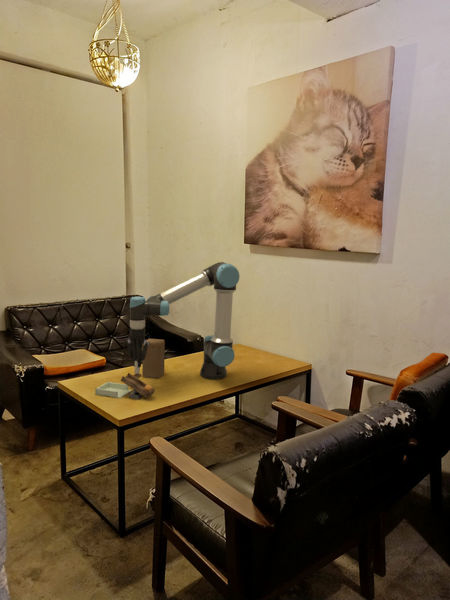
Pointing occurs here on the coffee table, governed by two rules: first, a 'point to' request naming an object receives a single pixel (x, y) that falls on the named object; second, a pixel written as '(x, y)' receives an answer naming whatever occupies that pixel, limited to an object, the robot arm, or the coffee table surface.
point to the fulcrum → (135, 395)
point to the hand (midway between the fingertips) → (137, 372)
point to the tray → (112, 390)
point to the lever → (137, 384)
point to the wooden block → (154, 359)
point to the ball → (148, 388)
